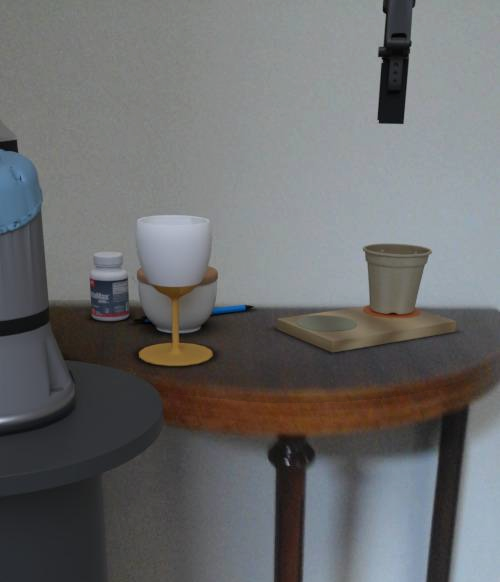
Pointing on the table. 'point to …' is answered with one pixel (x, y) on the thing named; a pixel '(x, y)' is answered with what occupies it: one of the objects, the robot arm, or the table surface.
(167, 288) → the cup
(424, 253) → the flower pot
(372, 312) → the circle
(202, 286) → the trinket box
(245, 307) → the pen
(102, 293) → the pill bottle
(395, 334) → the board
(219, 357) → the table surface
